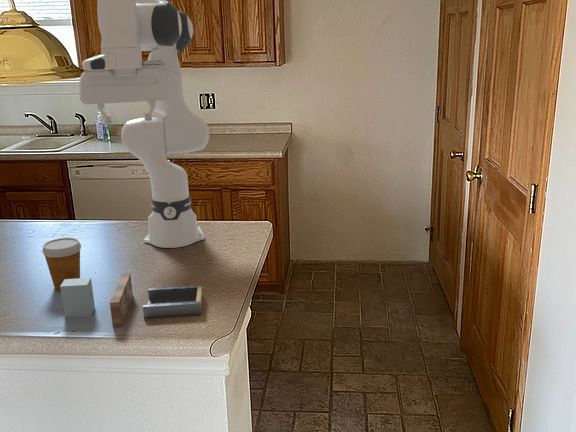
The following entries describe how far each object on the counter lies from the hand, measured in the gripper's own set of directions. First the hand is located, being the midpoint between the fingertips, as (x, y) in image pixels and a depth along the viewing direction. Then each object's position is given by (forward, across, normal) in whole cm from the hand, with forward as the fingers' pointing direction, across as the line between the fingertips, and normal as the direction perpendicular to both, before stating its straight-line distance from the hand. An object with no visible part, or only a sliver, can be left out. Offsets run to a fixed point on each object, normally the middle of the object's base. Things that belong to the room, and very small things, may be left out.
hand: (128, 121), depth 136 cm
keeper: (+43, -4, +14) cm, 45 cm away
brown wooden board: (+43, +7, +10) cm, 45 cm away
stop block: (+43, +16, +7) cm, 47 cm away
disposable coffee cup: (+43, +18, -11) cm, 48 cm away
